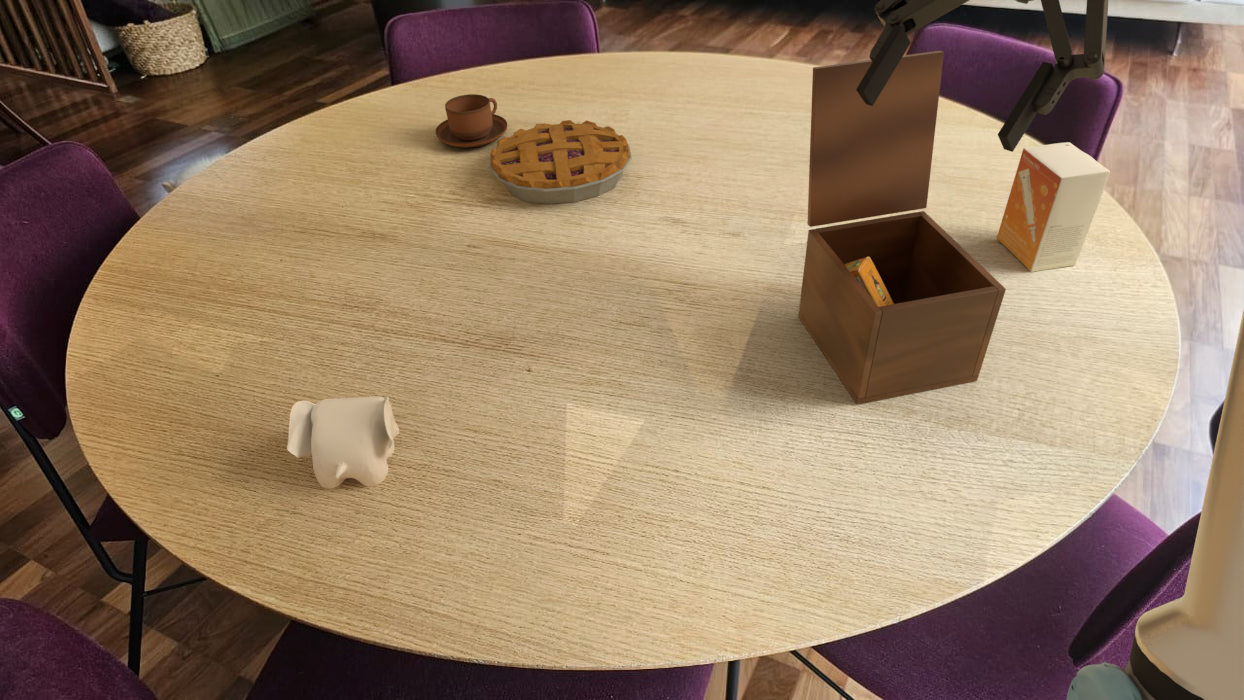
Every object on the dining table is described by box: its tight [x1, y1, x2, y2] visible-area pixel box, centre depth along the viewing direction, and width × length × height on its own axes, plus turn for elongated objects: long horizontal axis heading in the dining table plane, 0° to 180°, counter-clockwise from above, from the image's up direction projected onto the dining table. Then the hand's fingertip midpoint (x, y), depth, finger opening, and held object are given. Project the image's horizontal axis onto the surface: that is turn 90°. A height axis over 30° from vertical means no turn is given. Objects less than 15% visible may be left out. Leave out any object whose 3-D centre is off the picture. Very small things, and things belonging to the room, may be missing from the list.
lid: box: [807, 50, 945, 228], centre depth 86 cm, size 16×14×6 cm
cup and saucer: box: [435, 93, 508, 148], centre depth 135 cm, size 12×12×6 cm
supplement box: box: [845, 257, 894, 307], centre depth 86 cm, size 3×3×10 cm
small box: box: [996, 141, 1111, 273], centre depth 99 cm, size 8×6×13 cm
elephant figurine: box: [286, 395, 400, 490], centre depth 77 cm, size 10×12×9 cm
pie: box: [488, 119, 633, 205], centre depth 123 cm, size 22×22×5 cm
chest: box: [797, 210, 1007, 405], centre depth 86 cm, size 16×14×12 cm
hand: (930, 119), depth 69 cm, fingers open, 13 cm apart
